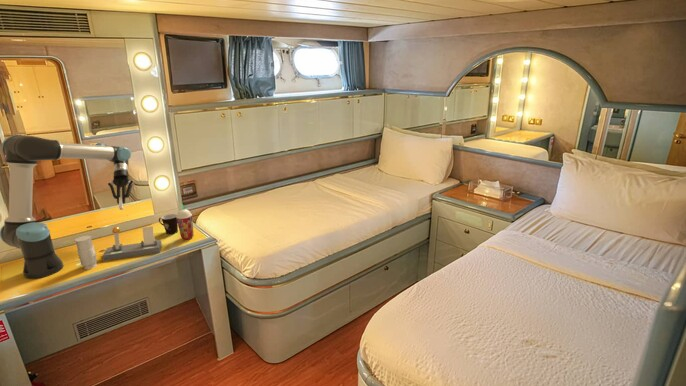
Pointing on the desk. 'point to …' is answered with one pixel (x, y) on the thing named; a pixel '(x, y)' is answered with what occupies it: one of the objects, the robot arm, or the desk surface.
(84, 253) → the candle
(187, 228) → the smoothie
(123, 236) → the desk surface
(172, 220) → the coffee mug
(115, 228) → the steel toggle
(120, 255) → the switch console
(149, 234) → the white flat upright panel
